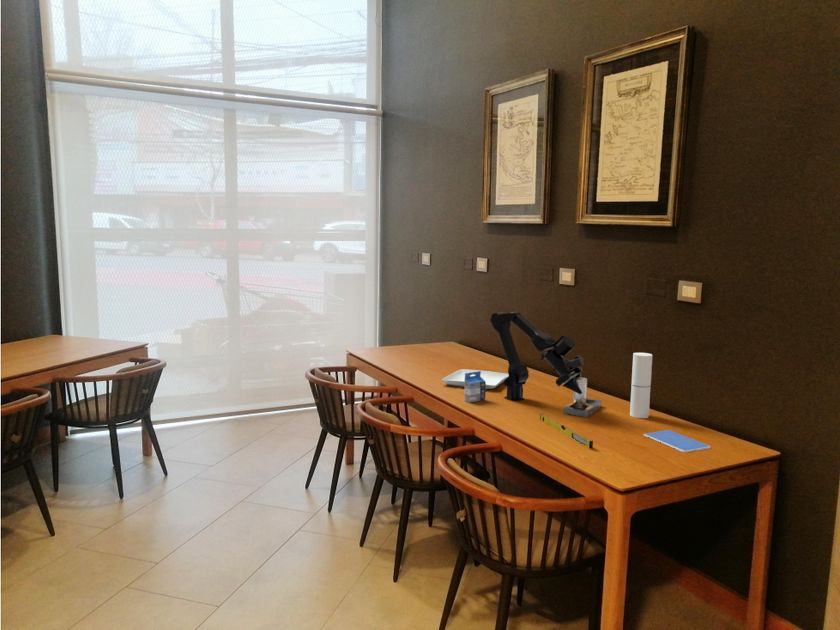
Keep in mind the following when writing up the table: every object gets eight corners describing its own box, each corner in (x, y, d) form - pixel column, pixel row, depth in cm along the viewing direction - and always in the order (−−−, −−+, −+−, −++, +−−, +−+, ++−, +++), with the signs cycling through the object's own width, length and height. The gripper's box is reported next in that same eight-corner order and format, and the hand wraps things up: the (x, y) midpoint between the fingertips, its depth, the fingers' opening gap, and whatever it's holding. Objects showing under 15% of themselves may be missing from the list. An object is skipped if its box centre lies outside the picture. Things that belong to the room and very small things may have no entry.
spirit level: (540, 421, 241) (540, 413, 240) (543, 421, 241) (543, 413, 241) (589, 449, 209) (589, 441, 209) (592, 449, 210) (593, 440, 209)
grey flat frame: (586, 417, 245) (587, 410, 245) (563, 413, 250) (563, 407, 250) (601, 406, 262) (601, 399, 262) (579, 402, 267) (579, 396, 267)
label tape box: (469, 403, 264) (470, 375, 263) (463, 401, 268) (464, 373, 266) (485, 400, 269) (486, 372, 268) (479, 398, 273) (480, 370, 271)
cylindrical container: (636, 418, 244) (640, 356, 241) (626, 413, 251) (629, 352, 248) (652, 417, 246) (656, 355, 243) (641, 412, 253) (645, 352, 250)
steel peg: (579, 409, 248) (580, 380, 247) (570, 406, 253) (571, 378, 251) (588, 408, 251) (589, 379, 249) (579, 405, 255) (580, 376, 254)
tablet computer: (711, 449, 211) (712, 445, 211) (684, 454, 206) (684, 450, 206) (668, 432, 229) (668, 429, 229) (642, 437, 224) (642, 433, 224)
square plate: (512, 380, 308) (512, 373, 307) (495, 393, 283) (495, 384, 282) (460, 375, 319) (461, 367, 318) (440, 386, 294) (440, 378, 294)
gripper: (564, 353, 243) (591, 385, 239) (579, 346, 259) (604, 375, 254) (544, 370, 248) (570, 401, 244) (560, 362, 264) (584, 391, 260)
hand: (583, 392), depth 250 cm, fingers closed on steel peg, 5 cm apart
